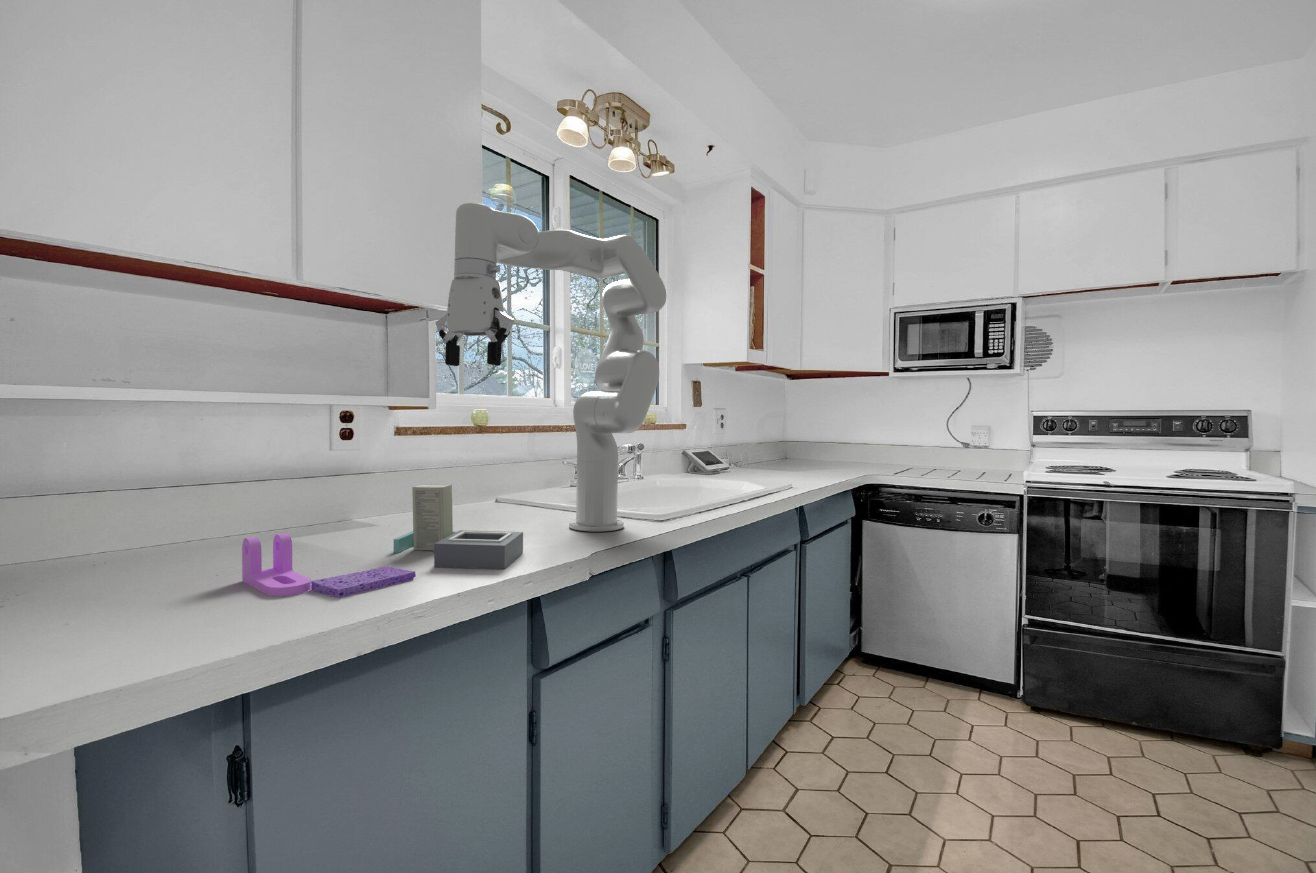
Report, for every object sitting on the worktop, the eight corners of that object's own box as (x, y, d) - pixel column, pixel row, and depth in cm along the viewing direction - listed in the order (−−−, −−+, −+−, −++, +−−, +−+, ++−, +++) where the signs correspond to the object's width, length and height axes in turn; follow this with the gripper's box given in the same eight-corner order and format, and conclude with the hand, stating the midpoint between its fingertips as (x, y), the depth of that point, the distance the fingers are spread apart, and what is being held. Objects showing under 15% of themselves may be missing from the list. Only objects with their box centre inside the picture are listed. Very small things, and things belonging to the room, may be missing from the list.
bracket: (242, 582, 92) (242, 536, 92) (283, 575, 97) (282, 531, 97) (274, 599, 84) (274, 549, 84) (317, 591, 89) (317, 543, 88)
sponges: (310, 593, 89) (310, 580, 89) (388, 575, 99) (388, 563, 99) (338, 602, 85) (338, 588, 85) (416, 582, 96) (416, 570, 96)
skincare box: (453, 546, 119) (454, 484, 119) (443, 551, 115) (443, 487, 114) (422, 545, 120) (422, 483, 119) (411, 550, 115) (411, 486, 115)
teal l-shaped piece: (414, 542, 122) (414, 530, 122) (469, 544, 121) (469, 531, 121) (393, 552, 113) (393, 539, 113) (452, 554, 112) (452, 540, 112)
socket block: (459, 551, 115) (460, 528, 115) (523, 553, 114) (523, 530, 114) (434, 567, 103) (434, 541, 103) (504, 569, 102) (504, 543, 102)
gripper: (525, 275, 114) (523, 366, 114) (452, 281, 121) (450, 367, 121) (500, 265, 107) (497, 362, 107) (424, 271, 114) (422, 363, 114)
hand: (472, 365), depth 114 cm, fingers open, 9 cm apart
